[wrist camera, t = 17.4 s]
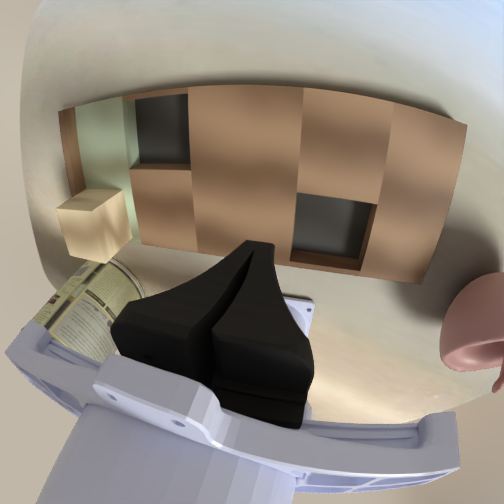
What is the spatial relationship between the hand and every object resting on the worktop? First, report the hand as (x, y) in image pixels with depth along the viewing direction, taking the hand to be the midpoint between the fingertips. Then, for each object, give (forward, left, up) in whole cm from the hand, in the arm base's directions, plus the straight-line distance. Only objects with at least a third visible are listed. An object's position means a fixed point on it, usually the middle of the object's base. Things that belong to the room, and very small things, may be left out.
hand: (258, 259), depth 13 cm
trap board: (+1, +3, -10) cm, 11 cm away
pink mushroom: (-8, -22, -11) cm, 26 cm away
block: (-3, +17, -8) cm, 19 cm away
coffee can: (-15, +21, -11) cm, 28 cm away
